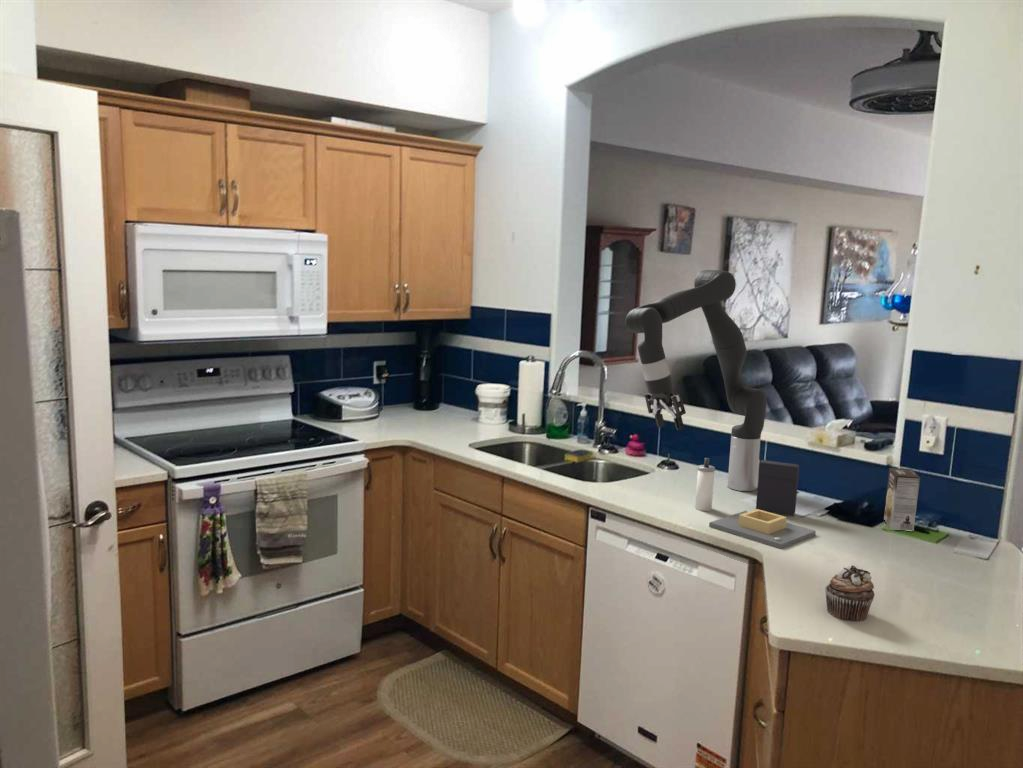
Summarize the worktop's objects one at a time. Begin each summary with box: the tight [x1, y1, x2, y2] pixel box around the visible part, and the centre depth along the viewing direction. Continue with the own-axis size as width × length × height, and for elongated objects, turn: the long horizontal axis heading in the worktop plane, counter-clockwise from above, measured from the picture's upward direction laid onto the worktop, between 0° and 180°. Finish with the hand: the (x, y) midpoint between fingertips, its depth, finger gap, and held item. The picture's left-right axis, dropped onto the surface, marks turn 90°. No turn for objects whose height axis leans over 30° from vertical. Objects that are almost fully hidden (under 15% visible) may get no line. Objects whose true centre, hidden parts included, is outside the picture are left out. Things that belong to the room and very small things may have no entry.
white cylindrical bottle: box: [694, 457, 716, 512], centre depth 244 cm, size 5×5×15 cm
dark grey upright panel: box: [755, 459, 800, 517], centre depth 243 cm, size 11×4×15 cm, turn 65°
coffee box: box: [883, 467, 921, 531], centre depth 233 cm, size 9×6×16 cm
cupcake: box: [824, 565, 875, 622], centre depth 174 cm, size 10×10×10 cm
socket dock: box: [708, 508, 817, 550], centre depth 227 cm, size 18×22×4 cm
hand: (670, 427), depth 239 cm, fingers open, 8 cm apart
